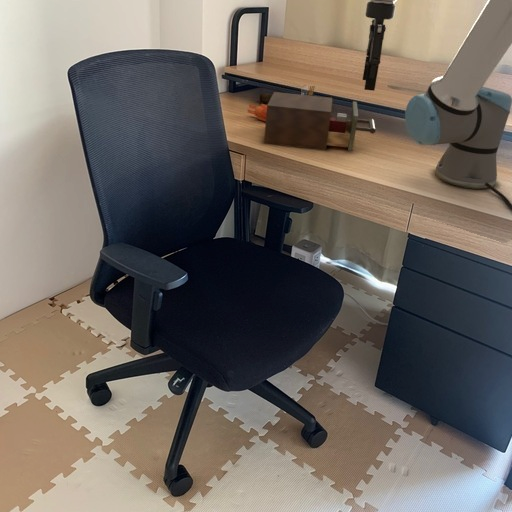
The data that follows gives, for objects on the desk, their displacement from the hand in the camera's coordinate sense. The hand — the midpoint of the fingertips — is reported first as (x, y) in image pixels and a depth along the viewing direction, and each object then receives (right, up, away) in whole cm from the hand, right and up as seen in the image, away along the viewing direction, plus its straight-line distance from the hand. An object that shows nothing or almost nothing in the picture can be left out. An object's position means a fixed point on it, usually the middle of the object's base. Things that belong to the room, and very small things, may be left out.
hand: (368, 85), depth 148 cm
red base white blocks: (-9, -12, +9) cm, 18 cm away
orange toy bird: (-29, -3, +26) cm, 39 cm away
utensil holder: (-16, -3, +28) cm, 32 cm away
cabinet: (-19, -13, +11) cm, 25 cm away
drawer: (-9, -13, +9) cm, 19 cm away
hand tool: (-23, +4, +39) cm, 46 cm away
